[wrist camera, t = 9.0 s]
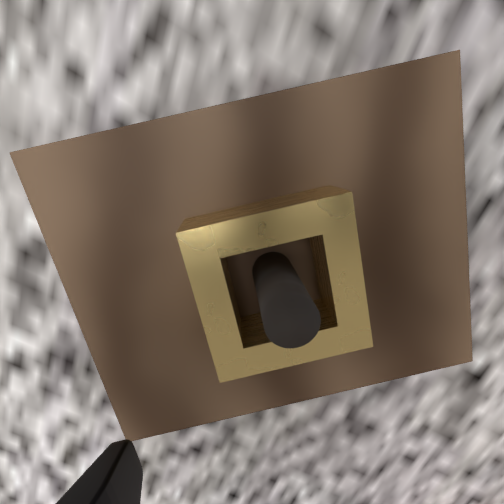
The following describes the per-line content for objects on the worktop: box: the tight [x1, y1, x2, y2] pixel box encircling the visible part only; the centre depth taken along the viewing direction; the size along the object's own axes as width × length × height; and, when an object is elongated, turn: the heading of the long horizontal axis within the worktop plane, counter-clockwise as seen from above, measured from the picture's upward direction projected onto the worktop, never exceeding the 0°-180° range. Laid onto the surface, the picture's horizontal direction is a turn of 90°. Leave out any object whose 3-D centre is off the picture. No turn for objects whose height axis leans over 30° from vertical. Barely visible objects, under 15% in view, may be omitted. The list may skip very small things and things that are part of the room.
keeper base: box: [10, 50, 472, 441], centre depth 15 cm, size 20×16×6 cm
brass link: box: [176, 185, 373, 383], centre depth 16 cm, size 7×7×3 cm
